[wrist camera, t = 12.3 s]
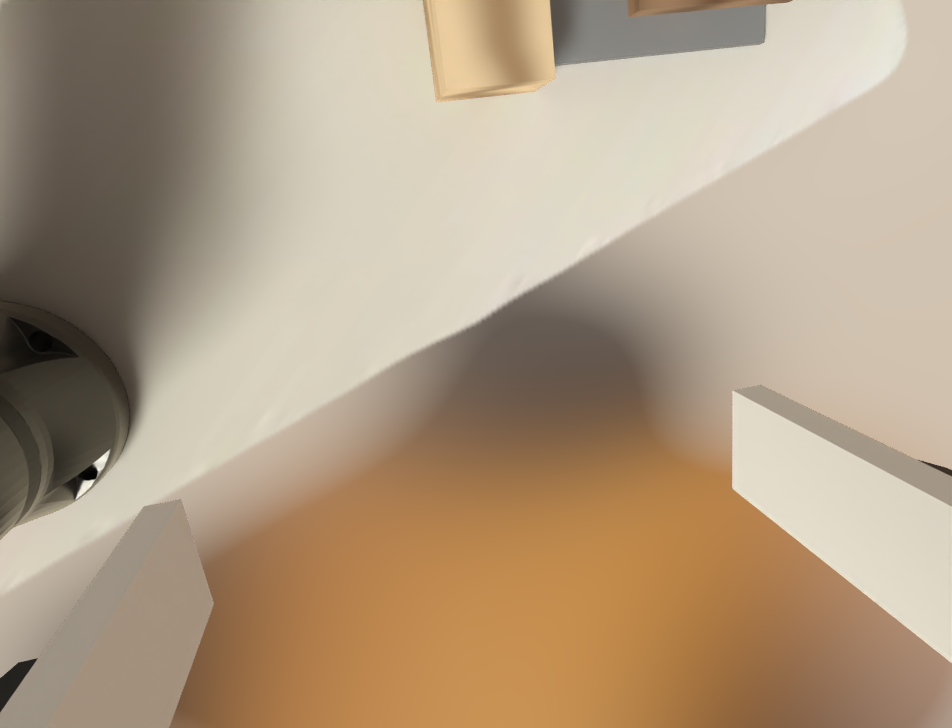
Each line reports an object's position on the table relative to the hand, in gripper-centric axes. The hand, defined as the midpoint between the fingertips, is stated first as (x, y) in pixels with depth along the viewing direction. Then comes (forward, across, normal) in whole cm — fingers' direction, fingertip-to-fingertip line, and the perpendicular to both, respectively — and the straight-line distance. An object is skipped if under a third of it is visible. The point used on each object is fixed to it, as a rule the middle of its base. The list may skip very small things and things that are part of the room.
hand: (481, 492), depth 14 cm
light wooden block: (+32, +8, +16) cm, 36 cm away
